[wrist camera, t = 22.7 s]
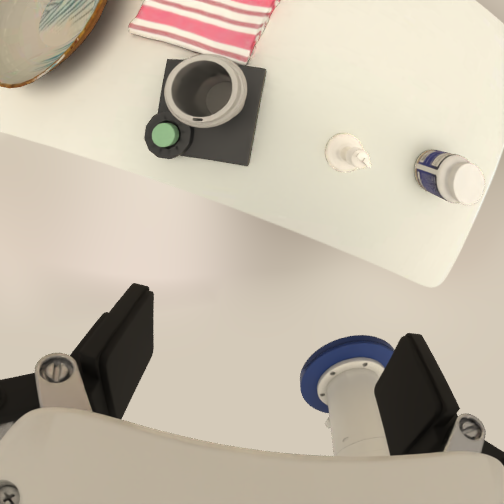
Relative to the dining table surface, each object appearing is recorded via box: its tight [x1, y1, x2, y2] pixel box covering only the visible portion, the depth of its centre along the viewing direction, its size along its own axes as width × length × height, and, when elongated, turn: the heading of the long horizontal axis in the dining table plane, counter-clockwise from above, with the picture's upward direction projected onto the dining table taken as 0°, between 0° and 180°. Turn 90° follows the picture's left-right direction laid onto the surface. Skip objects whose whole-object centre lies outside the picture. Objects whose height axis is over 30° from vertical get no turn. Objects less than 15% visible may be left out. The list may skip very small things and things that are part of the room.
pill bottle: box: [415, 150, 485, 205], centre depth 31 cm, size 6×6×10 cm
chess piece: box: [325, 133, 372, 172], centre depth 32 cm, size 5×5×10 cm
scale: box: [145, 59, 266, 166], centre depth 34 cm, size 12×13×4 cm
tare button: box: [152, 123, 179, 147], centre depth 33 cm, size 3×3×2 cm
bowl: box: [0, 0, 107, 88], centre depth 26 cm, size 25×25×8 cm
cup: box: [164, 54, 247, 128], centre depth 28 cm, size 7×7×12 cm
